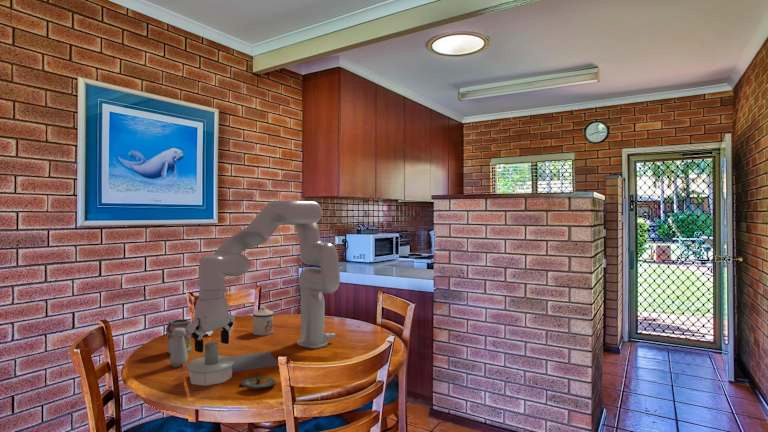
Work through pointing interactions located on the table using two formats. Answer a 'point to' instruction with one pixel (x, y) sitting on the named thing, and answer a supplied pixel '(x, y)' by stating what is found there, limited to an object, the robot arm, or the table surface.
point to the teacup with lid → (263, 322)
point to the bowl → (210, 377)
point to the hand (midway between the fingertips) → (212, 347)
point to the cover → (210, 361)
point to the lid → (252, 385)
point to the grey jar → (178, 324)
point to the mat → (253, 361)
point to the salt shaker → (178, 348)
